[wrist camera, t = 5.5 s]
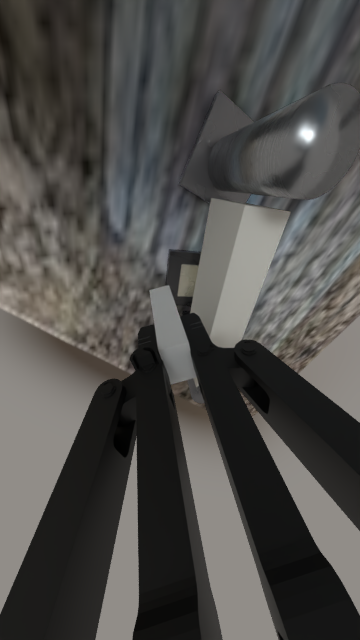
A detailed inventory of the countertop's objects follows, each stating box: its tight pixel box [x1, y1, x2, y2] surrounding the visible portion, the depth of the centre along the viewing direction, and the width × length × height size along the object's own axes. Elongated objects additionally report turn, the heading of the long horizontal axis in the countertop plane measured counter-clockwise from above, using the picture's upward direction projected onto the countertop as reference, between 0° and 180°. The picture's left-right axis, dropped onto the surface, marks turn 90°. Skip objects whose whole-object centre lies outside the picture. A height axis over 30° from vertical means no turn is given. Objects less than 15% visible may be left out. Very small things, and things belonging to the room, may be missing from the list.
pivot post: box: [178, 83, 360, 204], centre depth 10 cm, size 5×5×9 cm
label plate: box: [165, 249, 201, 305], centre depth 18 cm, size 7×5×1 cm
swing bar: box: [187, 198, 290, 403], centre depth 16 cm, size 16×3×5 cm, turn 173°
